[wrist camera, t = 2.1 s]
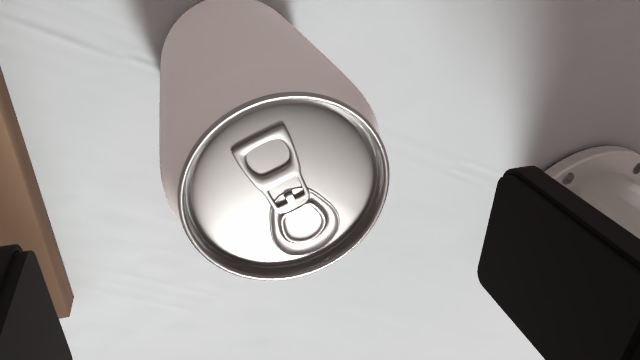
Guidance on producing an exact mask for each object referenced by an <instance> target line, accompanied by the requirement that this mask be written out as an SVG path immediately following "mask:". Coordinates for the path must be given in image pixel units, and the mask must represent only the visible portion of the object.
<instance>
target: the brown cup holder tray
mask: <svg viewBox="0 0 640 360" xmlns="http://www.w3.org/2000/svg"><path fill="white" fill-rule="evenodd" d="M12 244H18V245H19V246H20V247H21V248H22V250H23V251H29V250H32V251H33V252H34V253H35V255H36V257H37V260H38V263H39V266H40V268H41V271H42V274H43V277H44V280H45V282H46V285H47V288H48V291H49V294H50V296H51V299H52V302H53V305H54V308H55V310H56V313H57V316H58V319H59V318H65V317H69V316H70V312H71V307H72V303H73V298H74V296H73V293H72V290H71V287H70V283H69V280H68V277H67V274H66V271H65V268H64V265H63V261H62V258H61V255H60V252H59V249H58V246H57V243H56V240H55V236H54V233H53V230H52V227H51V224H50V221H49V218H48V214H47V211H46V208H45V205H44V202H43V199H42V196H41V193H40V189H39V186H38V183H37V180H36V177H35V174H34V171H33V167H32V164H31V161H30V158H29V155H28V152H27V149H26V146H25V142H24V139H23V136H22V133H21V130H20V127H19V124H18V120H17V117H16V114H15V111H14V108H13V105H12V102H11V99H10V95H9V92H8V89H7V86H6V83H5V80H4V77H3V74H2V70H1V67H0V246H6V245H12Z"/></svg>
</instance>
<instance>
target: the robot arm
mask: <svg viewBox="0 0 640 360" xmlns="http://www.w3.org/2000/svg"><path fill="white" fill-rule="evenodd" d="M477 272H478V278H479V281H480V283H481V285H482V286H483V287H484V288H485V290H486V291H487V292H488V293H489V294H490V295H491V297H492V298H493V299H494V300H495V301H496V302H497V304H498V305H499V306H500V307H501V308H502V309H503V311H504V312H505V313H506V314H507V315H508V316H509V318H510V319H511V320H512V321H513V322H514V323H515V325H516V326H517V327H518V328H519V329H520V331H521V332H522V333H523V334H524V335H525V336H526V338H527V339H528V340H529V341H530V342H531V343H532V345H533V346H534V347H535V348H536V349H537V350H538V352H539V353H540V354H541V355H542V356H543V357H544V359H545V360H640V154H638V153H636V152H634V151H632V150H630V149H627V148H624V147H621V146H609V145H607V146H600V147H593V148H589V149H586V150H583V151H580V152H577V153H575V154H573V155H571V156H569V157H567V158H565V159H563V160H561V161H559V162H558V163H556V164H555V165H553V166H552V167H550V168H549V169H547V170H546V171H544V172H543V171H542V170H541V169H539V168H537V167H535V166H526V167H520V168H513V169H509V170H507V171H506V172H505V173H504V175H503V177H501V178H500V179H499V181H498V184H497V188H496V192H495V197H494V201H493V205H492V209H491V214H490V218H489V222H488V227H487V231H486V235H485V240H484V244H483V248H482V252H481V257H480V261H479V265H478V271H477ZM0 360H72V355H71V352H70V349H69V347H68V344H67V341H66V338H65V335H64V333H63V330H62V327H61V324H60V322H59V319H58V316H57V313H56V310H55V308H54V305H53V302H52V299H51V296H50V294H49V291H48V288H47V285H46V282H45V280H44V277H43V274H42V271H41V268H40V266H39V263H38V260H37V257H36V255H35V253H34V252H33V251H32V250H29V251H23V250H22V248H21V247H20V246H19V245H18V244H12V245H6V246H0Z"/></svg>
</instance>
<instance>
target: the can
mask: <svg viewBox="0 0 640 360" xmlns="http://www.w3.org/2000/svg"><path fill="white" fill-rule="evenodd" d="M160 170H161V179H162V184H163V188H164V192H165V195H166V198H167V201H168V203H169V205H170V207H171V209H172V211H173V213H174V214H175V216H176V217H177V219H178V220H179V222H180V223H181V224H182V225H183V228H184V230H185V232H186V234H187V236H188V238H189V240H190V241H191V243H192V244H193V245H194V247H195V248H196V249H197V250H198V251H199V252H200V253H201V254H202V255H203V256H204V257H205V258H206V259H207V260H209V261H210V262H211V263H213V264H214V265H216V266H217V267H219V268H221V269H223V270H225V271H227V272H229V273H232V274H235V275H238V276H241V277H245V278H250V279H257V280H284V279H291V278H296V277H300V276H304V275H307V274H311V273H313V272H316V271H318V270H321V269H323V268H325V267H327V266H329V265H331V264H333V263H334V262H336V261H338V260H339V259H341V258H342V257H343V256H345V255H346V254H347V253H349V252H350V251H351V250H352V249H353V248H355V247H356V246H357V245H358V244H359V243H360V242H361V241H362V240H363V238H364V237H365V236H366V235H367V234H368V232H369V231H370V230H371V228H372V227H373V225H374V224H375V222H376V220H377V219H378V217H379V215H380V213H381V211H382V208H383V206H384V203H385V200H386V196H387V192H388V186H389V163H388V157H387V153H386V150H385V147H384V145H383V142H382V140H381V136H380V130H379V126H378V123H377V120H376V117H375V115H374V113H373V111H372V109H371V107H370V105H369V104H368V102H367V100H366V99H365V97H364V96H363V95H362V93H361V92H360V91H359V90H358V88H357V87H356V86H355V85H354V84H353V83H352V82H351V81H350V80H349V79H348V78H347V77H346V76H345V75H344V74H343V73H342V72H341V71H340V70H339V69H338V68H337V67H336V66H335V65H334V64H333V63H332V62H331V61H330V60H329V59H328V58H327V57H326V56H325V55H324V54H323V53H321V52H320V51H319V50H318V49H317V48H316V47H315V46H314V45H313V44H312V43H311V42H310V41H309V40H308V39H307V38H305V37H304V36H303V35H302V34H301V33H300V32H299V31H298V30H297V29H296V28H295V27H294V26H293V25H291V24H290V23H289V22H288V21H287V20H286V19H285V18H284V17H283V16H281V15H280V14H279V13H278V12H276V11H275V10H274V9H272V8H271V7H269V6H268V5H266V4H264V3H262V2H260V1H257V0H205V1H202V2H200V3H198V4H196V5H195V6H193V7H191V8H190V9H189V10H187V11H186V12H185V13H184V14H183V15H182V16H181V17H180V18H179V19H178V20H177V21H176V22H175V24H174V25H173V26H172V28H171V30H170V31H169V33H168V35H167V38H166V40H165V43H164V46H163V50H162V55H161V66H160Z"/></svg>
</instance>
